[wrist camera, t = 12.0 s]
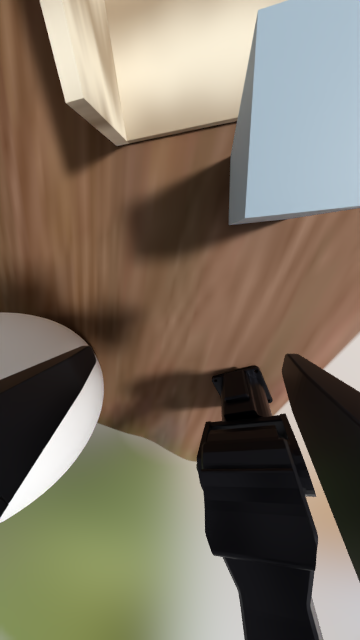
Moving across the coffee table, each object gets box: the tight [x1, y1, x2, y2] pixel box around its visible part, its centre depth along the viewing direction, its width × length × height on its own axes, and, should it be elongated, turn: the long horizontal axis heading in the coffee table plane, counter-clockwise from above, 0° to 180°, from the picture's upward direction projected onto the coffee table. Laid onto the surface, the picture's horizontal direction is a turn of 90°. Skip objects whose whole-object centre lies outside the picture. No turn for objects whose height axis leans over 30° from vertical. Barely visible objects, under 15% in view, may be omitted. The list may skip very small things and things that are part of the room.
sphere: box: [0, 312, 104, 523], centre depth 19 cm, size 20×20×20 cm
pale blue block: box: [229, 0, 360, 225], centre depth 10 cm, size 5×5×11 cm
